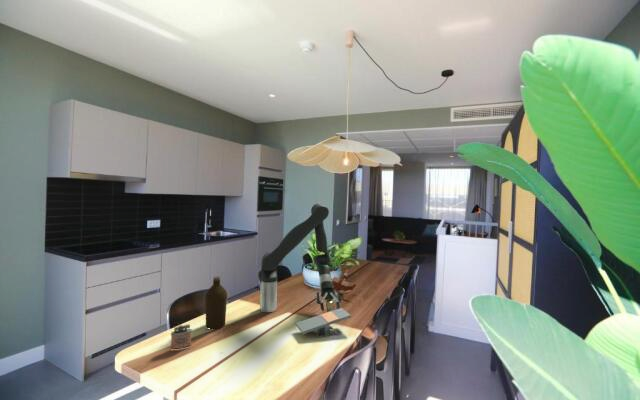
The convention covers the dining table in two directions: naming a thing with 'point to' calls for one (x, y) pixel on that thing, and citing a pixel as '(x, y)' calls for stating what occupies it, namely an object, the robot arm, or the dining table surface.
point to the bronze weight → (329, 305)
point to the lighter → (181, 337)
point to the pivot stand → (325, 332)
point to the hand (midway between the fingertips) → (330, 310)
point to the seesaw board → (322, 320)
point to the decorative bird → (342, 283)
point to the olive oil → (215, 305)
